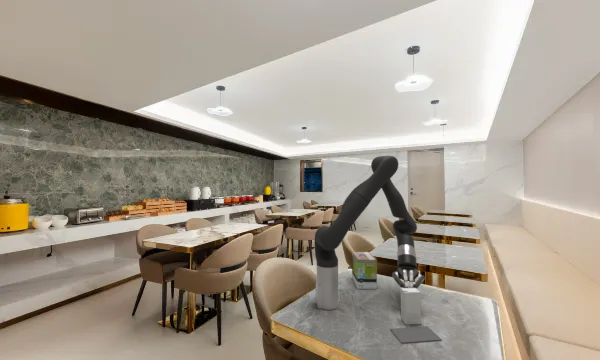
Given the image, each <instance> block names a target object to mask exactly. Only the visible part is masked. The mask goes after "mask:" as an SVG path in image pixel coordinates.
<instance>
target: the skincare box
mask: <svg viewBox="0 0 600 360" xmlns="http://www.w3.org/2000/svg"><path fill="white" fill-rule="evenodd" d="M421 293H422V292H421V291H420V290H418V288H417V289H416V288H409V287H408V288H403V287H400V319H401V320H402V322H403V323H404V325H422V305H421V303H422V302H421Z"/></svg>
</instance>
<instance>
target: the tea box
mask: <svg viewBox="0 0 600 360" xmlns="http://www.w3.org/2000/svg"><path fill="white" fill-rule="evenodd" d="M351 258H352V259H351V268H352V269H351V279H352V281H353V282H354V284H355V286H356V289H358V290H377V288H378V284H377V283H378V259H377V258H376V256H374V255H373V253H371V252H370V251H352V253H351Z"/></svg>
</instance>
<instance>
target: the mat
mask: <svg viewBox="0 0 600 360" xmlns="http://www.w3.org/2000/svg"><path fill="white" fill-rule="evenodd" d="M390 332H391V333H392V334H393V335H394V336H395V338H396V339H397V340H398V342H400V344H401V345H403V344H404V345H405V344H417V343H431V342H432V343H433V342H442V341H443V339H442V338H441V337H440V336H439V335H437V334H436V333H435V332H434V331H433V330H432V329H431V328H430V327H429V326H427V325H424V326H423V325H422V326H412V327H411V326H410V327H408V326H407V327H399V328H398V327H395V328H390Z"/></svg>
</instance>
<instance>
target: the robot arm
mask: <svg viewBox="0 0 600 360" xmlns="http://www.w3.org/2000/svg"><path fill="white" fill-rule="evenodd" d="M370 168H371V171H372V172H373V173H372V174H371V175H370V176H369V177H368V178H367V179H365V180H363V182H361V183H360V184H358V185H357V186H356V187H354V188H353V189H352V191H351V192H350V193H349V194H348V195H347V197H346V198H345V199H344V201H343V204H342V205H341V209H340V212H339V213H338V216H337V217H336V219H334V221H333V222H332V223H331V225H329V226H327V225H324V226H323V225H322V226H320V227H319V228H317V230H316V231H315V234H314V256H315V260H316V261H315V262H316V280H315V303H316V306H317V308H318V309H321V310H329V311H330V310H336V309H337V308H338V307H339V259H338V256H337V254H336V249H337V248H338V247H339V246H340V245H341V243H342V242H343V241H344V238H345V237H346V236H347V233H348V232H349V230H350V229H351V228H352V226H353V225H354V224H355V223H356V221H357V220H358V219H359V217H360V216H361V214H362V213H363V212H365V211H366V209H367V207H368V206H369V204H370V203H371V202H372V201H373V199H374V198H375V197H376V195H377V194H379V191H380V190H382V191H383V193H384V196H385V198H386V201H387V204H388V206H389V209H390V212H391V215H392V216H393V218H398V219H399V220H397V219H396V220H394V222H393V224H392V228H393V232H394V235H395V236H396V240H397V241H396V242H397V251H396V254H397V256H396V258H397V269H396V271H393V272H392V273H391V274H392V275H391V278H392V279H393V280H394V281H395V282H396V283H397V285H398V286H399V287H400V288H416V289H417V290H418V288H419V287H420V286H421V285H422V284H423V282H424V281H425V279H426V277H425V275H422V274H420V272H419V270H418V265H417V254H416V249H415V240H414V238H413V236H411V235H412V234H415V233H416V232H417V229H418V226H417V223H416V221H415V220H414V218H413V217H412V215H411V214H410V213H409V211H408V209H407V206H406V203H405V199H404V198H403V196H402V194H401V193H400V191H399V190H398V189H397V187H396V186H395V185H394V183H393V181H392V177H393V176H394V175H395V174H396V173H397V171H398V170H399V169H398V168H399V161H398V159H397V158H396V157H395V156H393V155H379V156H376V157H374V158H373V159H372V161H371V166H370ZM410 234H411V235H410ZM415 280H417V281H416V282H415V283H414V281H415Z"/></svg>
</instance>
